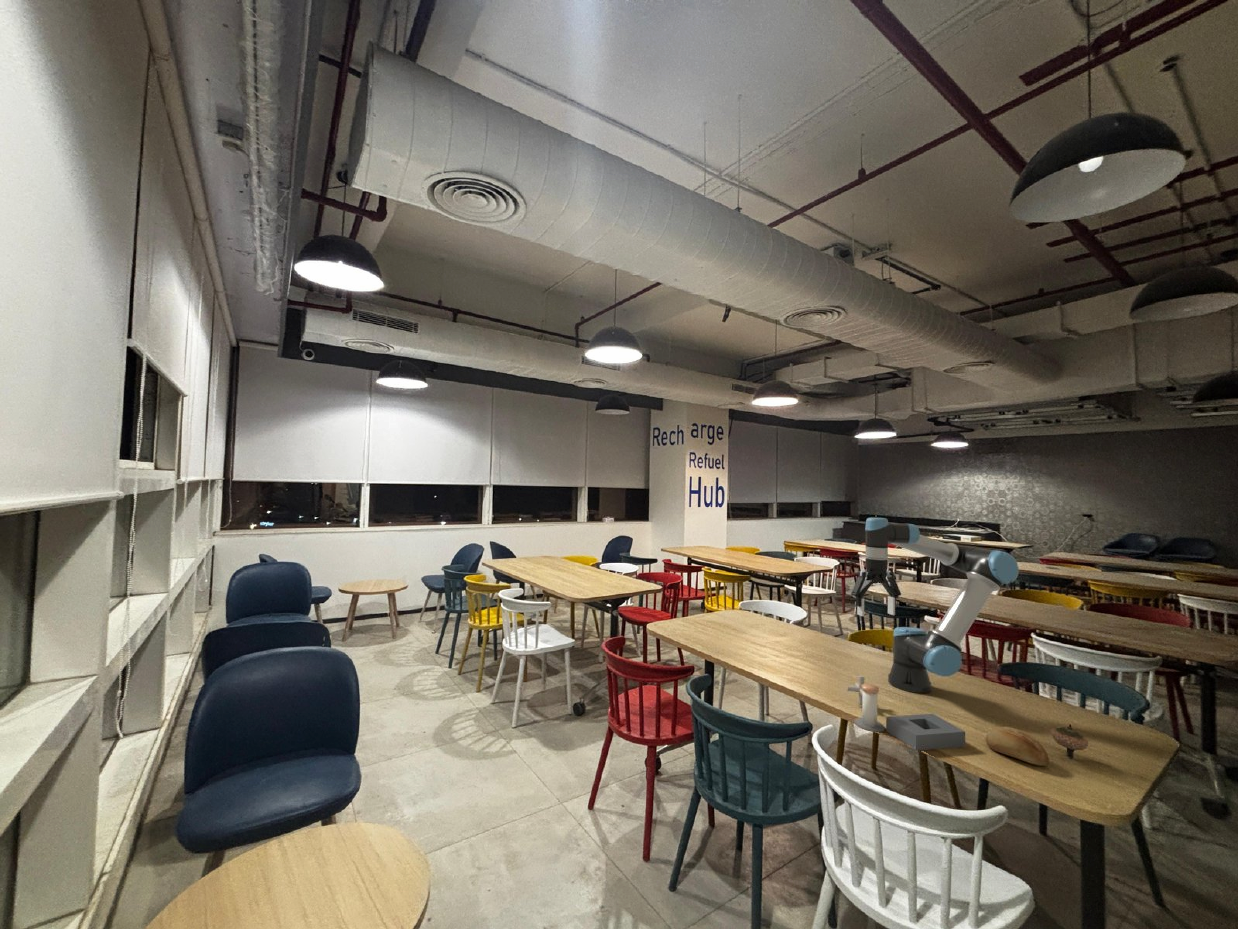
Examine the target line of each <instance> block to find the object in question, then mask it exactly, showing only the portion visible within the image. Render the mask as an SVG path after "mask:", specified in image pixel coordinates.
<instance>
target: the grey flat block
mask: <svg viewBox="0 0 1238 929" xmlns="http://www.w3.org/2000/svg"><path fill="white" fill-rule="evenodd" d="M885 720H886V721H885V722H886V723H885V732H887V733H889V734H890V735H892V736H893V737H894V738H897V739H898V740H899V741H901V743H902V742H903V743H904V744H905V743H906V744H905V745H907V744H908V745H910V746H909V747H910V748H911V749H913V750H914V751H918V752H919V751H926V750H927V751H928V750H929V751H930V750H937V749H951V748H962V747H963V746H964V747H966V731H965V730H964V729H962V728H959V727H958V726H956V725H954V724H953V723H951V722H948V721H947V720H945V719H943V718H941V717H940V716H937V715H936V714H934V713H922V714H910V715H909V714H908V715H907V714H906V715H892V716H890V715H889V716H885ZM908 745H907V746H908ZM914 747H915V748H914ZM950 747H951V748H950Z"/></svg>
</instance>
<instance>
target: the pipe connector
mask: <svg viewBox="0 0 1238 929" xmlns="http://www.w3.org/2000/svg"><path fill="white" fill-rule="evenodd" d="M862 684H865V676H864V675H858V681H857V682H856V683H855V684H854V685H855V686H853V685H846V688H845V690H846V692H854V693H858V703H857V704H858V705H860V706H862V699H863V690H862Z"/></svg>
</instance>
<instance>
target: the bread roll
mask: <svg viewBox="0 0 1238 929" xmlns="http://www.w3.org/2000/svg"><path fill="white" fill-rule="evenodd" d="M985 744H986V746H988V748H990V749H991V750H992V751H995V752H997V753H1000V754H1004V755H1006V756H1010V757H1012V758H1015V759H1018V760H1020V761H1023V762H1025V763H1029V764H1032V765H1035V766H1041V767H1043V766H1047V765H1048V764H1049V761H1050V758H1049V755H1048V752H1047V750H1046V748H1045V747H1044V746H1043V745H1042V744H1041V743H1040V741H1038V740H1037V739H1036V738H1035V737H1033V736H1032V734H1029V733H1027V732H1025V731H1024V730H1021V729H1018V728H1015V727H1011V726H997V727H993V728H992V729H990V730H989V731H988V732H987V734H986V736H985Z"/></svg>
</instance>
